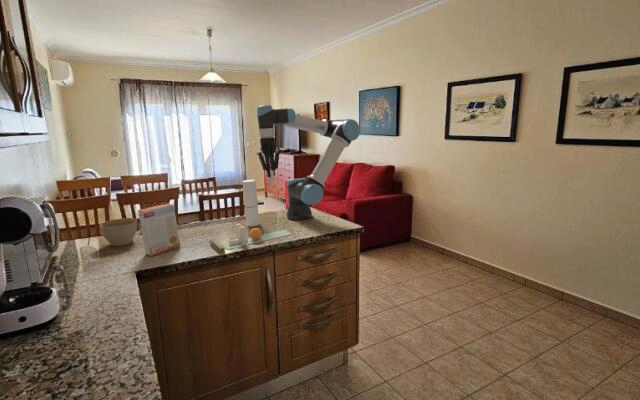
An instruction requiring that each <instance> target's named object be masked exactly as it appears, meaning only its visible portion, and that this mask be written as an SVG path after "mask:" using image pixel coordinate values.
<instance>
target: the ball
mask: <svg viewBox="0 0 640 400" xmlns="http://www.w3.org/2000/svg"><path fill="white" fill-rule="evenodd" d="M262 235H263V232H262V230H261V229H260V228H258V227H254V228H251V230H250V231H249V238H250V237H251V239H253V240H259V239H260V238H261V237H262Z"/></svg>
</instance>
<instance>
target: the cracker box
mask: <svg viewBox="0 0 640 400" xmlns="http://www.w3.org/2000/svg"><path fill="white" fill-rule="evenodd" d="M175 209H176V208H175V205H174V204H172V203H164V204H160V205H154V206H151V207H147V208H141V209H138V210H137V213H138V219H139V223H140V228H141V236H142V239H143V240H142V241H143V246H144V251H145V255H147V256H149V257H153V256H157V255H160V254H162V253H163V254H164V253H166V252H169V251H172V250H175V249H178V248H181V242H180V236H179V231H178V230H179V229H178V224H177V217H176V211H175Z"/></svg>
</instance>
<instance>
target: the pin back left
mask: <svg viewBox="0 0 640 400" xmlns="http://www.w3.org/2000/svg"><path fill="white" fill-rule="evenodd" d="M239 228H240V238H241V245H245V244H246V237H247V235H246V229H245V228H246V227H245V225H244V226H242V225H241V227H239ZM245 246H246V245H245Z"/></svg>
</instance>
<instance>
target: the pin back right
mask: <svg viewBox="0 0 640 400" xmlns="http://www.w3.org/2000/svg"><path fill="white" fill-rule="evenodd" d="M241 226H242V224H241V223H237V224H235V229H236V230H235V231H236V239H240V228H239V227H241Z"/></svg>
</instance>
